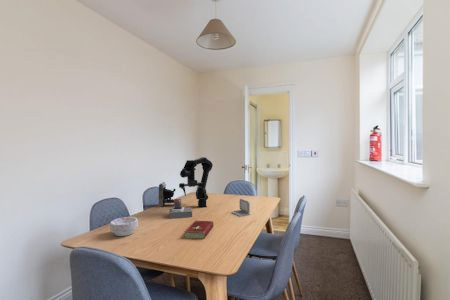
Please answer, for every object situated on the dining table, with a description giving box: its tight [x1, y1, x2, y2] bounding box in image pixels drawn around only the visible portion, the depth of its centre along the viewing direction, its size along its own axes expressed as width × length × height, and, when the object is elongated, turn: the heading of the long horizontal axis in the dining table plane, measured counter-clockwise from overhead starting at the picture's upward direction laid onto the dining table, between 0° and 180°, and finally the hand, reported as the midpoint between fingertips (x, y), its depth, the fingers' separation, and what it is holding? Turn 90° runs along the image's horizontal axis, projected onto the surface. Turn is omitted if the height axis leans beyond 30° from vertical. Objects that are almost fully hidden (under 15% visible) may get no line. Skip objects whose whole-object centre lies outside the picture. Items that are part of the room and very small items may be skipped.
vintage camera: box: [158, 181, 176, 207], centre depth 217 cm, size 10×16×20 cm, turn 89°
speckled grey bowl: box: [109, 216, 139, 237], centre depth 148 cm, size 15×15×8 cm
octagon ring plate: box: [169, 206, 193, 220], centre depth 184 cm, size 16×12×6 cm
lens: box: [173, 198, 182, 209], centre depth 184 cm, size 5×5×8 cm
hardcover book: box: [183, 220, 215, 239], centre depth 149 cm, size 12×21×4 cm, turn 169°
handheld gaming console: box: [231, 198, 251, 217], centre depth 187 cm, size 13×9×10 cm
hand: (191, 195), depth 197 cm, fingers open, 9 cm apart
